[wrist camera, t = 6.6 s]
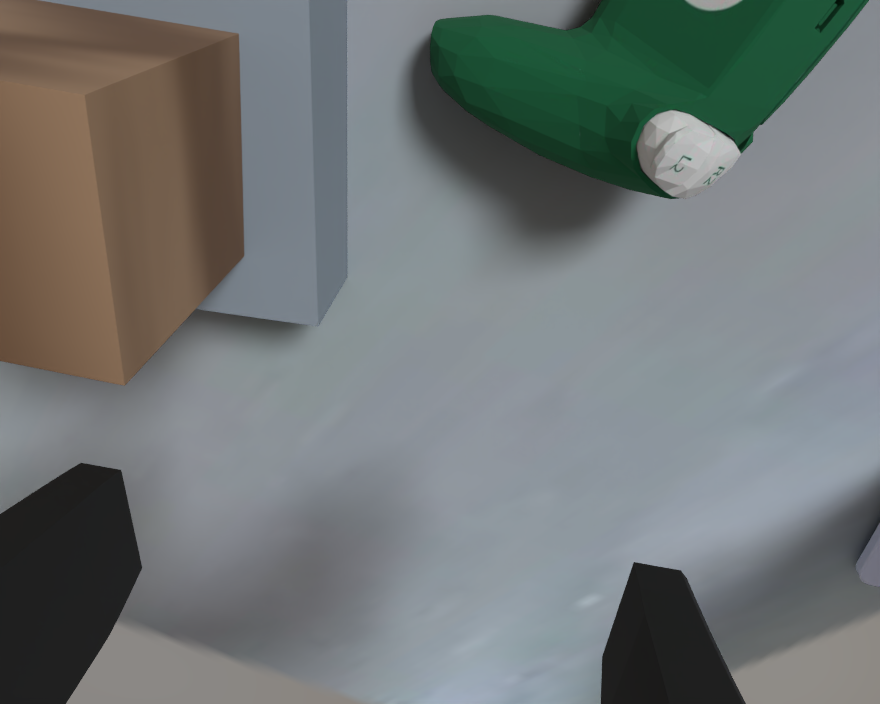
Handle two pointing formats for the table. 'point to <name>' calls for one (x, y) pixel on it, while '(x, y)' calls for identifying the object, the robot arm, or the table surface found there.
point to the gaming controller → (639, 82)
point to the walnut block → (112, 183)
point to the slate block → (280, 148)
